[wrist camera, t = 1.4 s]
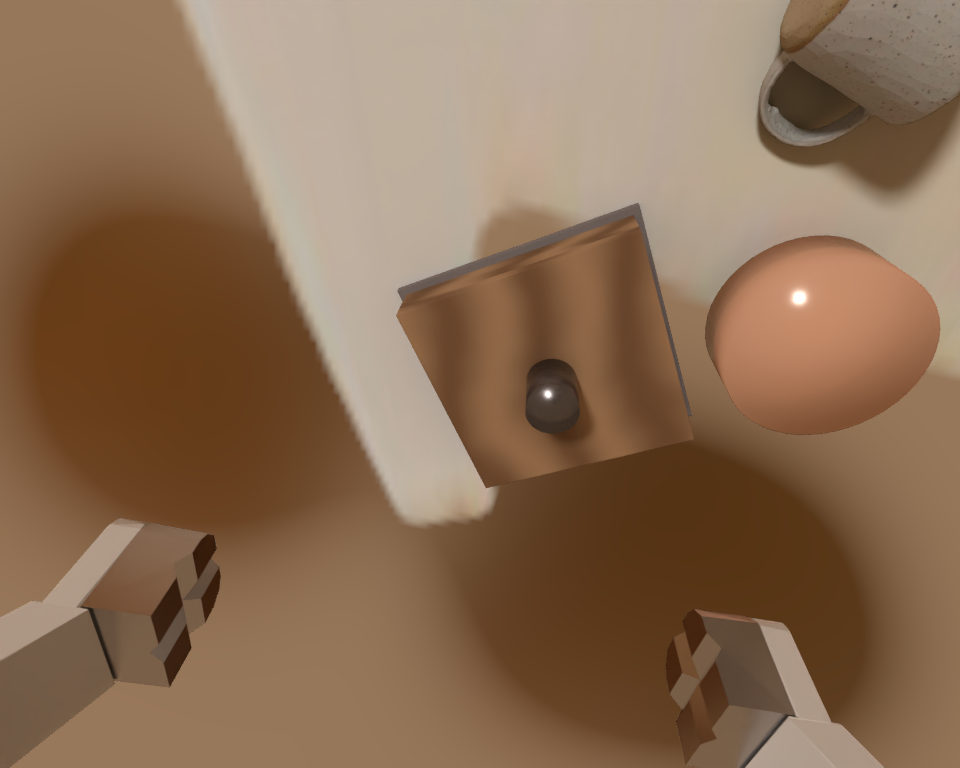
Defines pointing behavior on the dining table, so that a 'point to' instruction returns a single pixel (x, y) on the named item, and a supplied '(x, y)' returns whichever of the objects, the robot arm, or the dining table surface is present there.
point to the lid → (552, 356)
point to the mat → (549, 240)
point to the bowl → (820, 335)
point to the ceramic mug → (869, 60)
